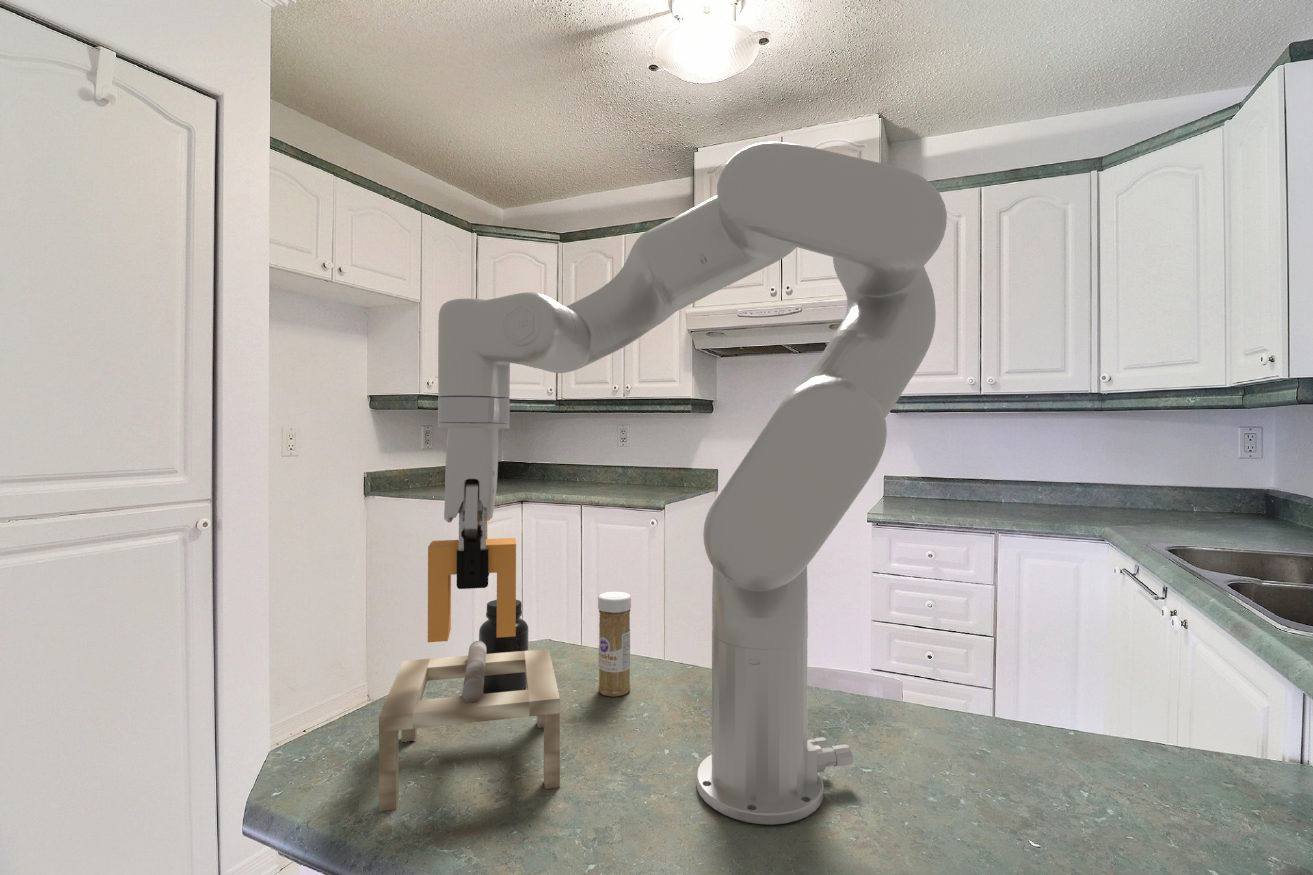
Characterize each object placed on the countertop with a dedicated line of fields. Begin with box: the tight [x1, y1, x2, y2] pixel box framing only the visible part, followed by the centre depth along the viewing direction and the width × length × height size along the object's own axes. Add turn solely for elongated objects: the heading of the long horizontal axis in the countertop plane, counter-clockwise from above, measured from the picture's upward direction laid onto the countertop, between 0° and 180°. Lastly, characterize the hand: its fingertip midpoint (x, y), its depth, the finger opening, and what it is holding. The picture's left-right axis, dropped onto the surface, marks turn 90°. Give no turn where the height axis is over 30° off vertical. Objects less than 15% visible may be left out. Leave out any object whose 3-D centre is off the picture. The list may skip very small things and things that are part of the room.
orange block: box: [427, 537, 517, 643], centre depth 69 cm, size 9×4×10 cm, turn 104°
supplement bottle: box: [478, 599, 529, 694], centre depth 88 cm, size 7×7×12 cm
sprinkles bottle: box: [597, 591, 632, 698], centre depth 87 cm, size 5×5×14 cm
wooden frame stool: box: [378, 640, 561, 812], centre depth 69 cm, size 17×15×11 cm
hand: (473, 580), depth 69 cm, fingers closed on orange block, 4 cm apart
